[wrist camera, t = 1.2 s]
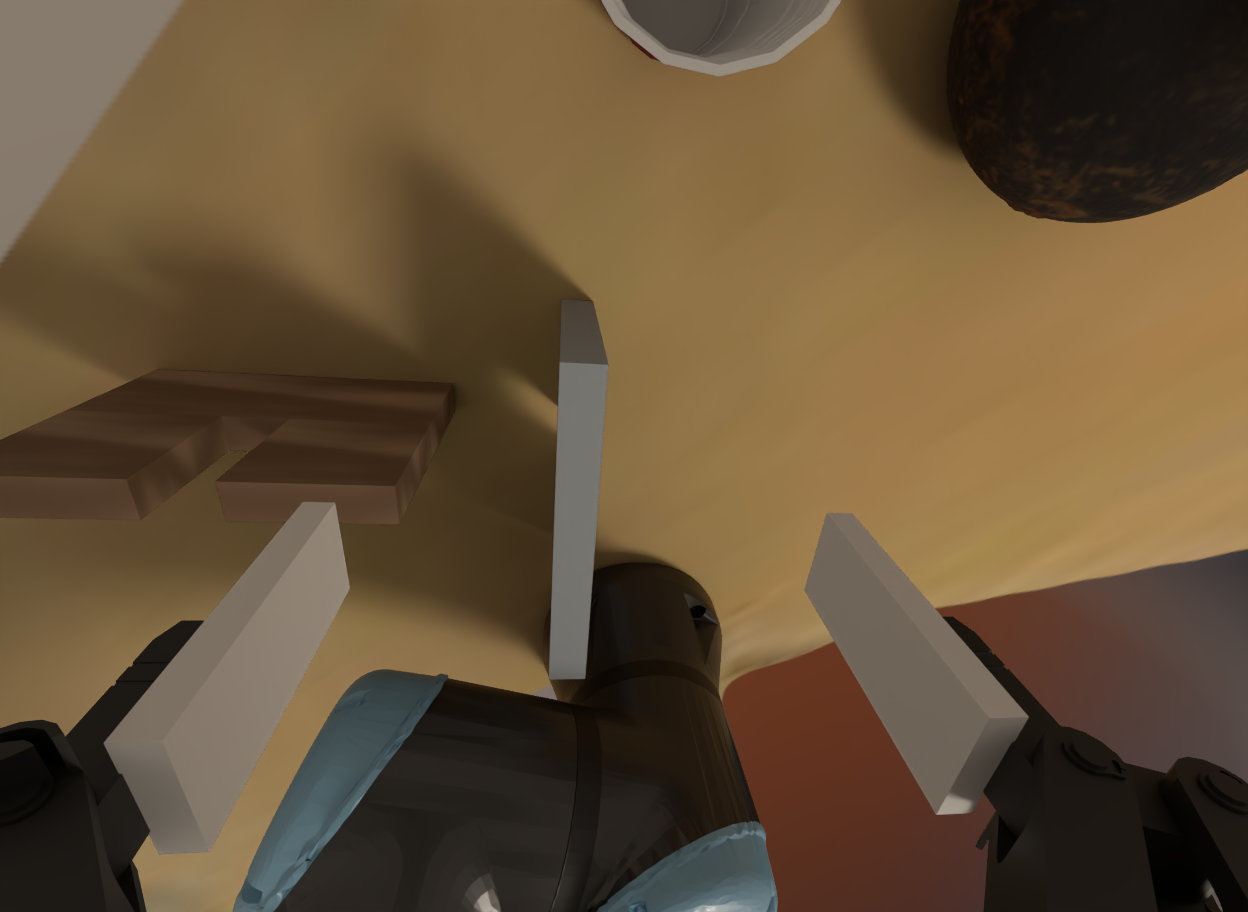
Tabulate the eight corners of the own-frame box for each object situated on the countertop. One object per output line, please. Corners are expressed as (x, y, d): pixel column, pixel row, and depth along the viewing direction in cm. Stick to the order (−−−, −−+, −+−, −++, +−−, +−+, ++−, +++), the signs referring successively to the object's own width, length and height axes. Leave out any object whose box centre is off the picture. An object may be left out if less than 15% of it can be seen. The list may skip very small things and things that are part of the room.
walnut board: (454, 411, 37) (399, 524, 25) (166, 399, 35) (-54, 516, 23) (453, 383, 37) (395, 486, 24) (157, 369, 34) (-76, 474, 22)
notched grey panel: (579, 535, 43) (585, 678, 30) (553, 534, 43) (548, 679, 30) (592, 301, 35) (608, 364, 23) (561, 299, 35) (559, 362, 22)
